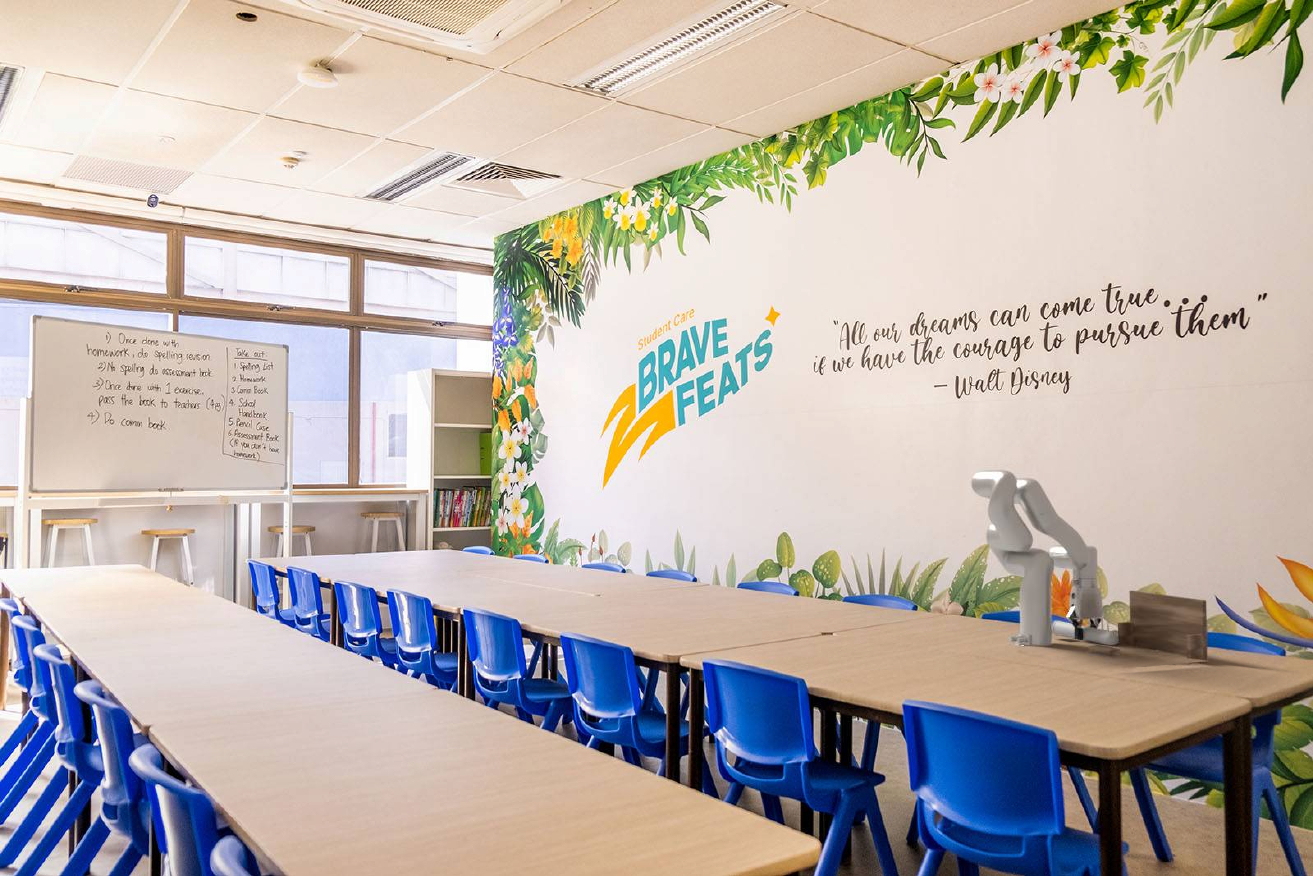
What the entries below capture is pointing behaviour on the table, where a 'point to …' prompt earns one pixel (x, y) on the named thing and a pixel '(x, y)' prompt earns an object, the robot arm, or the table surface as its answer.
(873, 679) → the table surface
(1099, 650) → the offcut top
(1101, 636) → the tube
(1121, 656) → the offcut low
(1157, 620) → the wooden panel stand
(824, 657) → the table surface
